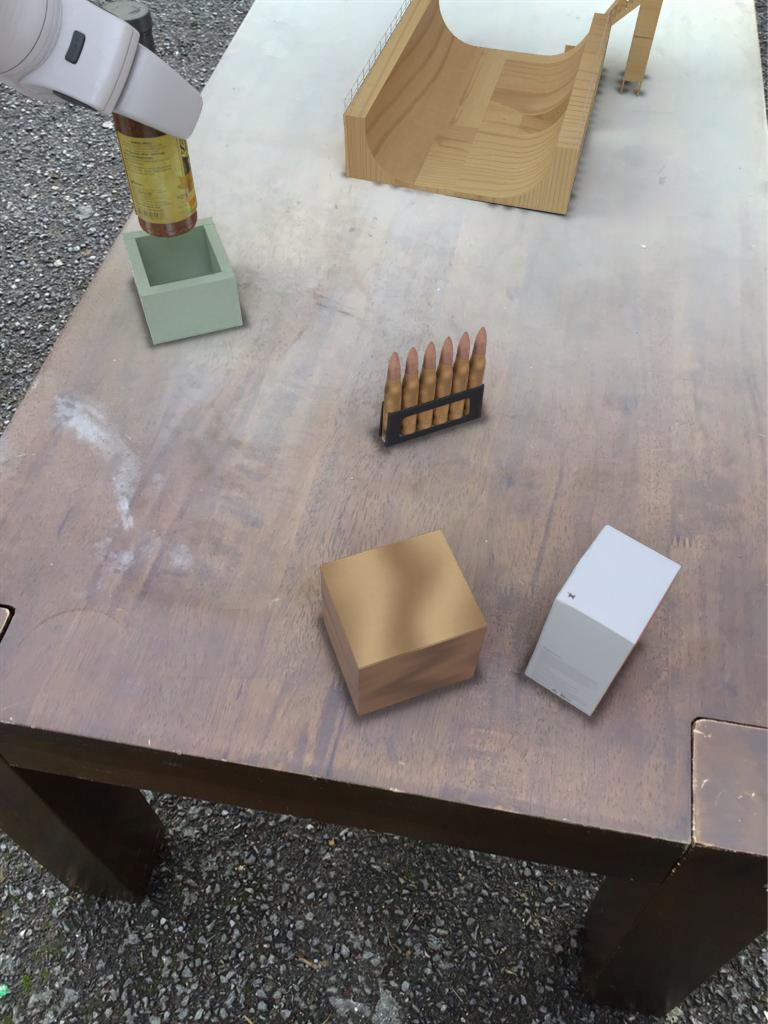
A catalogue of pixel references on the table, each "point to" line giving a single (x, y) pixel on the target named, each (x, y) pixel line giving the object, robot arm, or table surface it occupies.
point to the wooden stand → (401, 621)
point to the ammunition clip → (433, 390)
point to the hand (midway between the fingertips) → (151, 107)
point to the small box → (600, 618)
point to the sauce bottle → (154, 154)
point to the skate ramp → (482, 110)
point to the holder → (184, 282)
